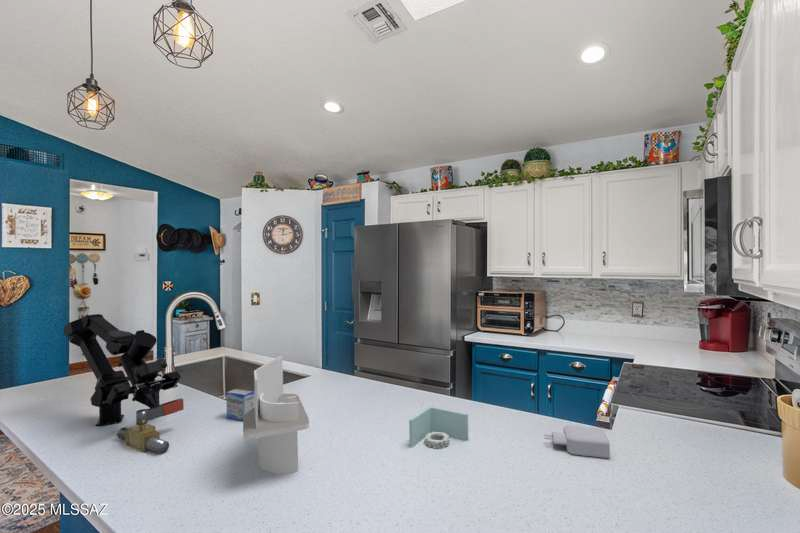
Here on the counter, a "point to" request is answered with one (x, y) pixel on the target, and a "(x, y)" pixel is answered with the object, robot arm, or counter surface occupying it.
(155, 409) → the lever
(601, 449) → the charger
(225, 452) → the counter surface
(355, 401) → the counter surface
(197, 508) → the counter surface
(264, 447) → the architectural model
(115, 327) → the robot arm
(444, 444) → the l-shaped corner panel
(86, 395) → the counter surface
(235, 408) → the medicine box
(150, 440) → the valve
